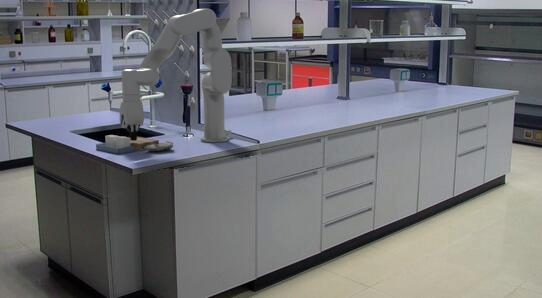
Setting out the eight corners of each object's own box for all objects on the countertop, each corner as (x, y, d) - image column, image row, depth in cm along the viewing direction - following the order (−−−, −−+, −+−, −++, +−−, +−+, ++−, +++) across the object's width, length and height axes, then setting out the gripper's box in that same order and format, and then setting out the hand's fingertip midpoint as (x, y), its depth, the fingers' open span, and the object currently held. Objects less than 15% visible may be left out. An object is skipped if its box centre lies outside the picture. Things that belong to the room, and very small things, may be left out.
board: (137, 143, 273) (137, 136, 272) (159, 146, 264) (158, 140, 263) (112, 147, 262) (112, 140, 262) (133, 151, 253) (133, 144, 252)
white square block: (122, 136, 256) (115, 136, 253) (130, 137, 252) (123, 138, 250) (122, 148, 257) (115, 149, 254) (130, 150, 253) (123, 151, 250)
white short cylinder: (111, 134, 260) (105, 135, 257) (119, 136, 256) (113, 137, 254) (112, 147, 261) (105, 148, 258) (120, 148, 257) (113, 149, 255)
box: (111, 147, 263) (111, 141, 262) (134, 151, 253) (134, 145, 252) (96, 149, 257) (96, 144, 256) (118, 154, 247) (118, 148, 246)
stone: (151, 153, 247) (151, 146, 246) (141, 151, 254) (141, 143, 253) (176, 149, 254) (176, 142, 254) (166, 147, 261) (165, 139, 261)
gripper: (140, 96, 262) (141, 137, 265) (111, 98, 250) (113, 141, 254) (150, 97, 257) (152, 139, 260) (122, 100, 246) (124, 143, 249)
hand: (133, 140), depth 257 cm, fingers closed
